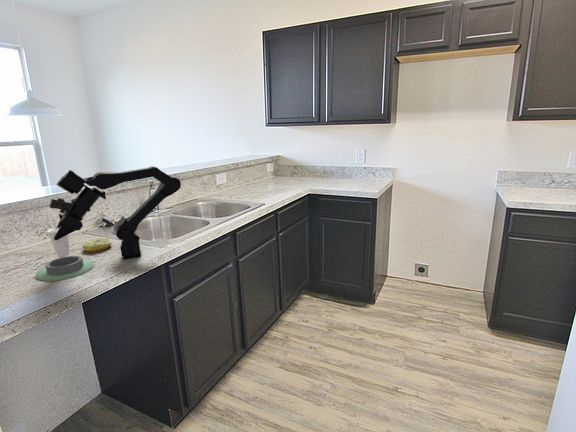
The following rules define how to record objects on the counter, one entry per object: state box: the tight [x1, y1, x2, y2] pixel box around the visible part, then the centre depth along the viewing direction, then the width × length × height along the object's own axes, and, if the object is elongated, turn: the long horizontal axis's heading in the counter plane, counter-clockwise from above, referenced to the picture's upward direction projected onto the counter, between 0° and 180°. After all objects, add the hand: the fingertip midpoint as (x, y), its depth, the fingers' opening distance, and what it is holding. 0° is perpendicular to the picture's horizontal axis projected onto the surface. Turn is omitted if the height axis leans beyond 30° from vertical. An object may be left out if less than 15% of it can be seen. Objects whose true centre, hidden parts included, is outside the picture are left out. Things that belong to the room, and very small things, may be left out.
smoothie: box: [46, 217, 71, 258], centre depth 119 cm, size 6×6×14 cm
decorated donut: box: [82, 237, 113, 253], centre depth 144 cm, size 10×11×4 cm
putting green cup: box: [35, 255, 95, 282], centre depth 122 cm, size 18×18×3 cm
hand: (54, 237), depth 118 cm, fingers closed on smoothie, 6 cm apart
